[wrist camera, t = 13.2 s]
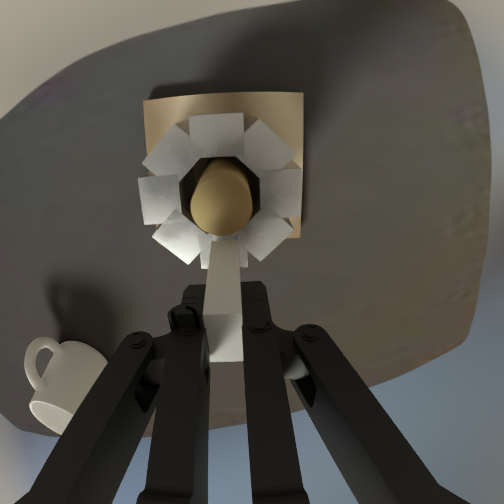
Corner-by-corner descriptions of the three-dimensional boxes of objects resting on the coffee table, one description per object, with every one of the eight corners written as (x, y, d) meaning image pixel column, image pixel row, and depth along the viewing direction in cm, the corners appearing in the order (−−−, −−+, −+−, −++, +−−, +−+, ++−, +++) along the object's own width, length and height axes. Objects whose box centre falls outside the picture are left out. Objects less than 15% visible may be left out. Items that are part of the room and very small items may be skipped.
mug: (30, 323, 30) (-5, 379, 21) (68, 308, 29) (30, 374, 20) (83, 383, 35) (63, 440, 26) (124, 376, 34) (107, 441, 25)
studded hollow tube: (172, 227, 24) (153, 270, 18) (161, 117, 20) (132, 123, 14) (281, 222, 25) (297, 264, 18) (281, 111, 21) (302, 113, 14)
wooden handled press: (161, 238, 26) (130, 309, 17) (147, 101, 20) (92, 100, 11) (297, 231, 26) (329, 300, 17) (299, 93, 21) (346, 86, 12)
